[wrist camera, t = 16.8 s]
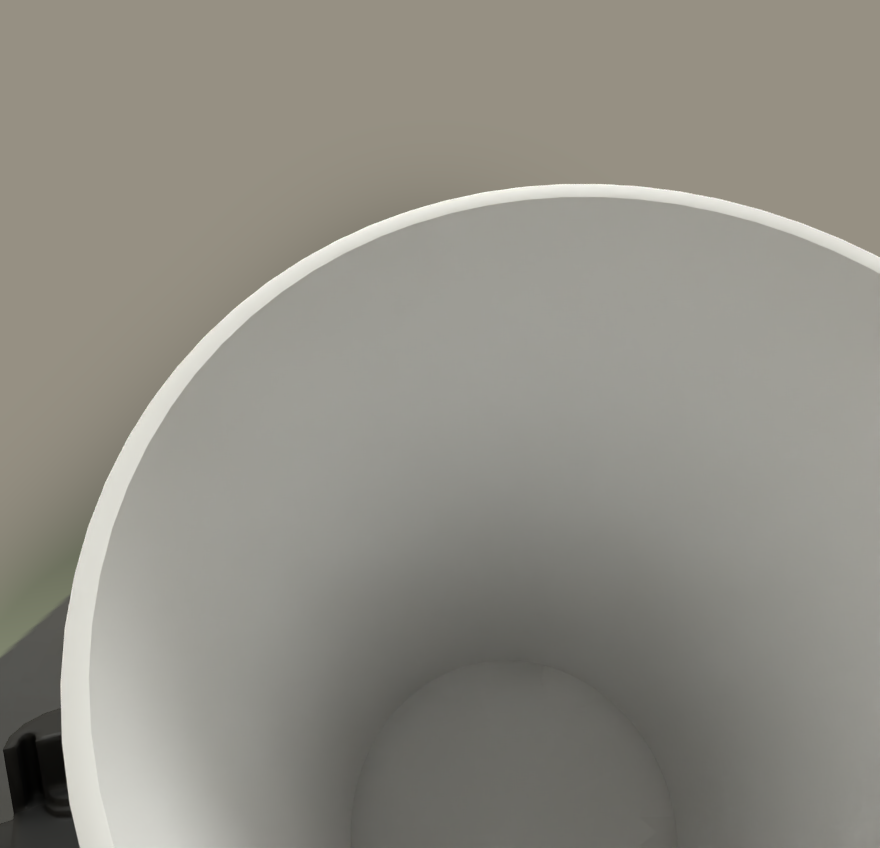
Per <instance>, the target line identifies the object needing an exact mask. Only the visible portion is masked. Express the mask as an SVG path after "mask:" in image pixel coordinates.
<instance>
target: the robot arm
mask: <svg viewBox="0 0 880 848" xmlns="http://www.w3.org/2000/svg"><path fill="white" fill-rule="evenodd" d="M3 752H4V758H5V764H6V770H7V776H8V782H9V788H10V793H11V799H12V805H13V811H14V818H13V820H11V821H8V822H4V823H1V824H0V848H80V846H79V842H78V838H77V833H76V829H75V825H74V821H73V816H72V812H71V808H70V803H69V795H68V787H67V779H66V771H65V763H64V755H63V747H62V727H61V708H60V709H57V710H54V711H50V712H47V713H44V714H42V715H41V716H39V717H37V718H35V719H33V720H31V721H29V722H27V723H25V724H24V725H23V726H21V727H20V728H19V729H18V730H17V731H16V732H15V733H13V734H12V735H11V736H10V737H9V739H8V741H7V743H6V745H5V747H4V749H3Z"/></svg>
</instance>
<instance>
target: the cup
mask: <svg viewBox="0 0 880 848" xmlns="http://www.w3.org/2000/svg"><path fill="white" fill-rule="evenodd" d="M61 727H62V747H63V755H64V763H65V771H66V779H67V787H68V795H69V803H70V808H71V812H72V816H73V821H74V825H75V829H76V833H77V838H78V842H79V846H80V848H880V257H878V256H876V255H874V254H872V253H870V252H868V251H865V250H863V249H861V248H859V247H857V246H855V245H853V244H851V243H849V242H847V241H845V240H842V239H840V238H837V237H835V236H832V235H830V234H828V233H825V232H823V231H820V230H818V229H815V228H813V227H810V226H808V225H805V224H803V223H800V222H797V221H793V220H791V219H787V218H784V217H782V216H779V215H775V214H772V213H769V212H766V211H763V210H760V209H756V208H752V207H748V206H744V205H741V204H737V203H733V202H729V201H725V200H721V199H716V198H711V197H706V196H701V195H695V194H690V193H685V192H679V191H672V190H664V189H656V188H648V187H640V186H624V185H608V184H558V185H544V186H531V187H519V188H512V189H505V190H497V191H491V192H483V193H478V194H474V195H469V196H464V197H460V198H455V199H450V200H446V201H442V202H439V203H435V204H432V205H428V206H425V207H421V208H418V209H414V210H411V211H408V212H405V213H402V214H399V215H397V216H394V217H391V218H388V219H386V220H383V221H380V222H378V223H375V224H372V225H370V226H368V227H366V228H363V229H361V230H359V231H357V232H354V233H352V234H350V235H348V236H346V237H344V238H341V239H339V240H337V241H335V242H333V243H331V244H330V245H328V246H326V247H324V248H322V249H321V250H319V251H317V252H315V253H313V254H311V255H310V256H308V257H306V258H304V259H302V260H301V261H299V262H298V263H296V264H295V265H293V266H292V267H290V268H289V269H287V270H286V271H284V272H283V273H281V274H279V275H278V276H277V277H275V278H274V279H272V280H270V281H269V282H267V283H266V284H265V285H264V286H262V287H261V288H260V289H259V290H257V291H256V292H255V293H254V294H252V295H251V296H250V297H248V298H247V299H246V300H244V301H243V302H242V303H241V304H239V305H238V306H237V307H236V308H235V309H234V310H232V311H231V312H230V313H229V314H228V315H227V316H226V317H225V318H224V319H223V320H222V321H221V322H219V323H218V324H217V325H216V326H215V327H214V328H213V329H212V330H211V331H210V332H209V333H208V334H207V335H205V337H204V338H203V339H202V340H201V341H200V342H199V343H198V344H197V345H196V346H195V348H194V349H193V350H192V351H191V352H190V353H189V354H188V355H187V356H186V358H185V359H184V360H183V361H182V362H181V363H180V364H179V365H178V366H177V368H176V369H175V370H174V372H173V373H172V374H171V376H170V377H169V378H168V379H167V381H166V382H165V383H164V385H163V386H162V387H161V389H160V390H159V391H158V393H157V394H156V395H155V397H154V398H153V399H152V400H151V402H150V404H149V405H148V407H147V408H146V410H145V411H144V413H143V415H142V416H141V418H140V419H139V421H138V423H137V425H136V426H135V428H134V429H133V431H132V432H131V434H130V436H129V437H128V439H127V441H126V442H125V444H124V446H123V448H122V450H121V453H120V454H119V456H118V459H117V460H116V462H115V464H114V466H113V468H112V470H111V472H110V474H109V476H108V478H107V480H106V482H105V485H104V488H103V490H102V493H101V495H100V498H99V500H98V503H97V505H96V508H95V511H94V513H93V516H92V518H91V521H90V523H89V526H88V529H87V533H86V536H85V540H84V543H83V547H82V550H81V554H80V557H79V561H78V564H77V568H76V571H75V575H74V580H73V586H72V591H71V597H70V602H69V608H68V613H67V619H66V624H65V633H64V646H63V658H62V671H61Z"/></svg>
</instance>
